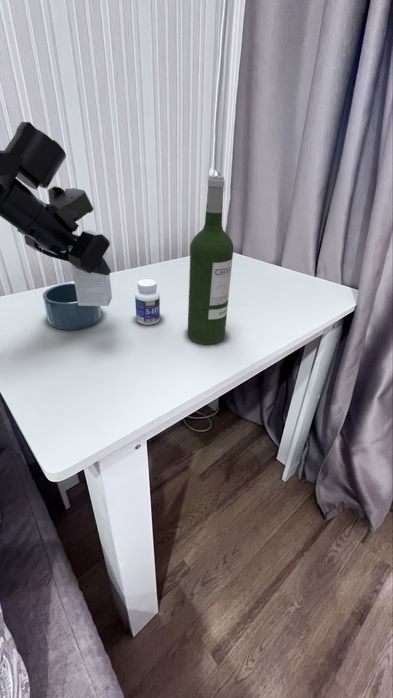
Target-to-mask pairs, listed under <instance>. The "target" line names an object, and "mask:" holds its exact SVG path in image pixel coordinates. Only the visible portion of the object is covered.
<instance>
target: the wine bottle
mask: <svg viewBox="0 0 393 698" xmlns="http://www.w3.org/2000/svg"><path fill="white" fill-rule="evenodd" d="M225 181H226V180H225V177H224V176H223V175H209V176H208V178H207V193H206V206H205V218H204V225H203V228H202V229H201V230H200V231H199V232H198V233H197V234H196V235H194V237H193V238H192V240H191V242H190V245H189V268H188V269H189V270H188V272H189V274H188V305H187V309H188V310H187V336H188V338H189V339H190V340H191V341H192V342H195V343H196V344H199V345H207V346H208V345H216V344H218V343H221V342H222V341H223V340H224V338H225V336H226V329H227V317H228V306H229V297H230V286H231V278H232V277H231V276H232V267H233V258H234V244H233V241H232V239H231V237H230V236H229V234H227V233H226V231H224V228H223V208H224V207H223V206H224V187H225Z"/></svg>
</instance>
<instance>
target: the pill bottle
mask: <svg viewBox="0 0 393 698" xmlns="http://www.w3.org/2000/svg"><path fill="white" fill-rule="evenodd" d="M157 285H158V284H157V281H156V280H154V279H148V278H146V279H145V278H144V279H140V280H138V281H137V291H136V292H135V295H134V299H135V317H136V319H135V320H136V321H137V322H138V323H139V324H141V325H145V326H146V325H155V324H157V323H158V322H160V320H161V301H160V299H161V296H160V292H159V291H158V290H157V288H158V287H157Z"/></svg>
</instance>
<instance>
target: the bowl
mask: <svg viewBox="0 0 393 698" xmlns="http://www.w3.org/2000/svg"><path fill="white" fill-rule="evenodd" d="M42 300H43V304H44V308H45V312H46V317H47V318H46V319H47V320H48V323H49V325H50V326H52V327H53V328H56V329H60V330H79V329H85V328H88V327H91V326H93V325H95V324H96V323H98V322H99V321H100V320H101V318H102V311H101V306H79V305H78V301H77V295H76V289H75V283H74V282H68V283H67V282H66V283H62V284H58V285H55V286H51V287H49V288H48V289H46V290H45V291H44V292H43V294H42Z"/></svg>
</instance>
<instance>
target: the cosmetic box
mask: <svg viewBox="0 0 393 698" xmlns="http://www.w3.org/2000/svg"><path fill="white" fill-rule="evenodd" d="M70 250H71V248H69V252H70ZM108 255H109V254H108V249H107V250H106V252H105V254H104V255H103V258H104V260H105V261H106V263H107V265H108V266H109V256H108ZM70 264H71V263H70ZM109 267H110V266H109ZM71 270H72V271H71V272H72V276H73V283H75V289H76V295H77V301H78V305H79V306H100V307H109V306H110V303H111V301H112V299H113V293H112V284H111V273H110V274H109V275H108V276H107V275H102V274H98V273H90V274H89V273H87V272H85V271H82V270H80V269H77V268H75V266H74V265H72V264H71Z"/></svg>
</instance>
